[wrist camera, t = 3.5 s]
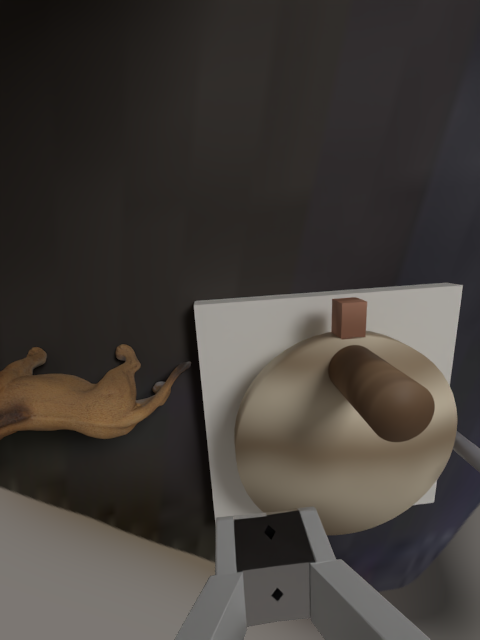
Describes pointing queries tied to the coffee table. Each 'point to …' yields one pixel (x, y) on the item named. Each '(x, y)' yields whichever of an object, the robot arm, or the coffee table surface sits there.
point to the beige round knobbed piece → (345, 426)
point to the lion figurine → (77, 398)
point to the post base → (291, 328)
